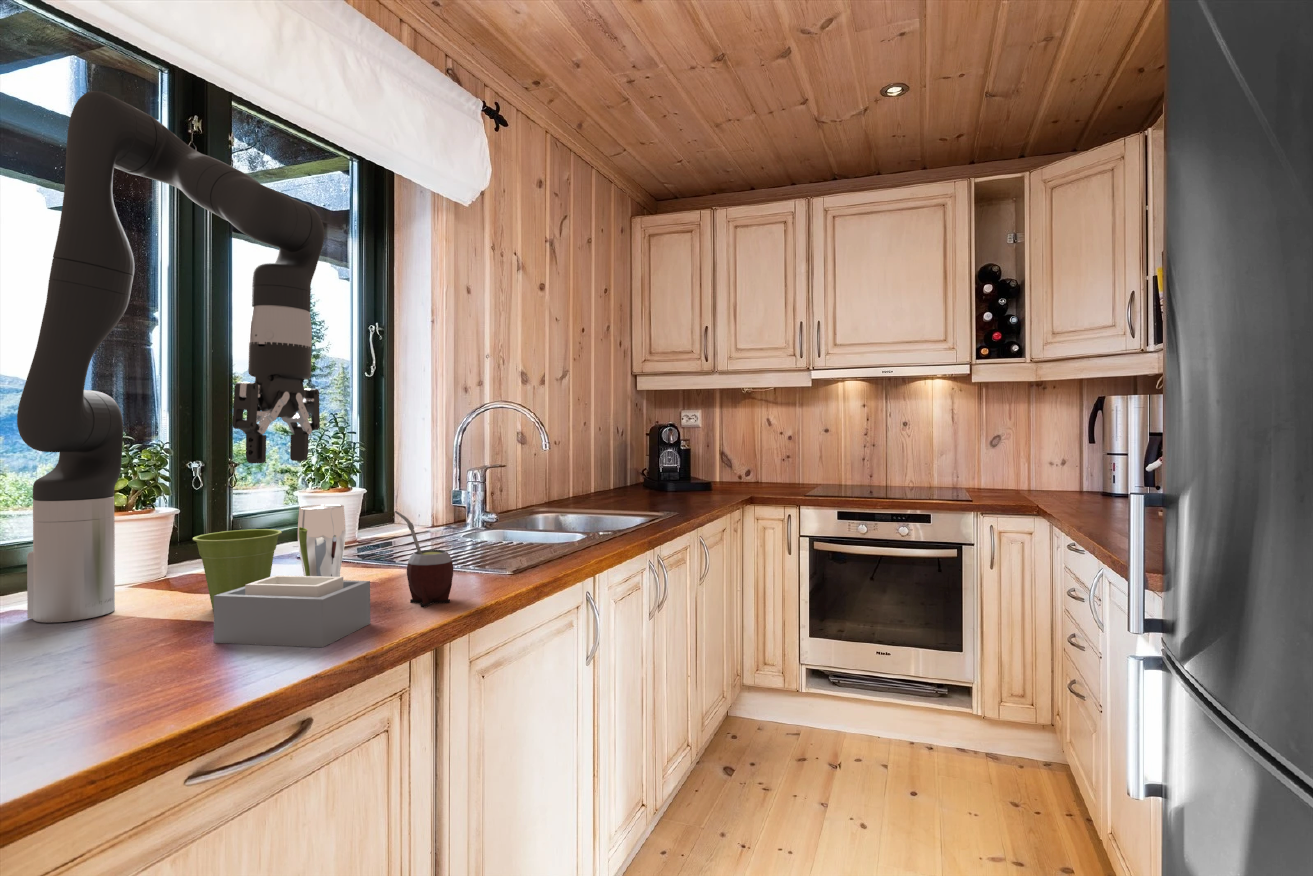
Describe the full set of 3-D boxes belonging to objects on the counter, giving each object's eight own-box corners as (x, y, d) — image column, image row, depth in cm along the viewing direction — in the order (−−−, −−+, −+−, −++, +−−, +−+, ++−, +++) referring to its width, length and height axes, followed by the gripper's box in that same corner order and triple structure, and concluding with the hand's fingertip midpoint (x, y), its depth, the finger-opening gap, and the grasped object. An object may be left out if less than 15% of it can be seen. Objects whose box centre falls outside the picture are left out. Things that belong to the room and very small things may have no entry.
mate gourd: (459, 597, 114) (458, 505, 114) (442, 609, 106) (442, 511, 106) (413, 597, 114) (413, 505, 114) (394, 609, 106) (394, 510, 106)
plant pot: (245, 595, 115) (245, 527, 115) (299, 601, 111) (299, 531, 111) (173, 612, 104) (173, 537, 104) (231, 619, 100) (230, 541, 100)
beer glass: (326, 605, 108) (326, 509, 108) (287, 603, 110) (287, 508, 110) (354, 595, 115) (354, 504, 115) (317, 593, 117) (317, 504, 116)
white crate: (317, 632, 90) (317, 586, 90) (245, 630, 91) (245, 584, 91) (343, 620, 96) (343, 576, 96) (275, 618, 97) (275, 575, 97)
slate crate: (322, 647, 87) (322, 599, 87) (213, 642, 89) (213, 595, 89) (370, 623, 98) (370, 581, 98) (272, 620, 100) (272, 578, 100)
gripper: (290, 349, 103) (288, 459, 103) (215, 335, 89) (213, 463, 89) (337, 349, 102) (335, 461, 102) (269, 335, 87) (266, 465, 88)
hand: (278, 462), depth 95 cm, fingers open, 8 cm apart
